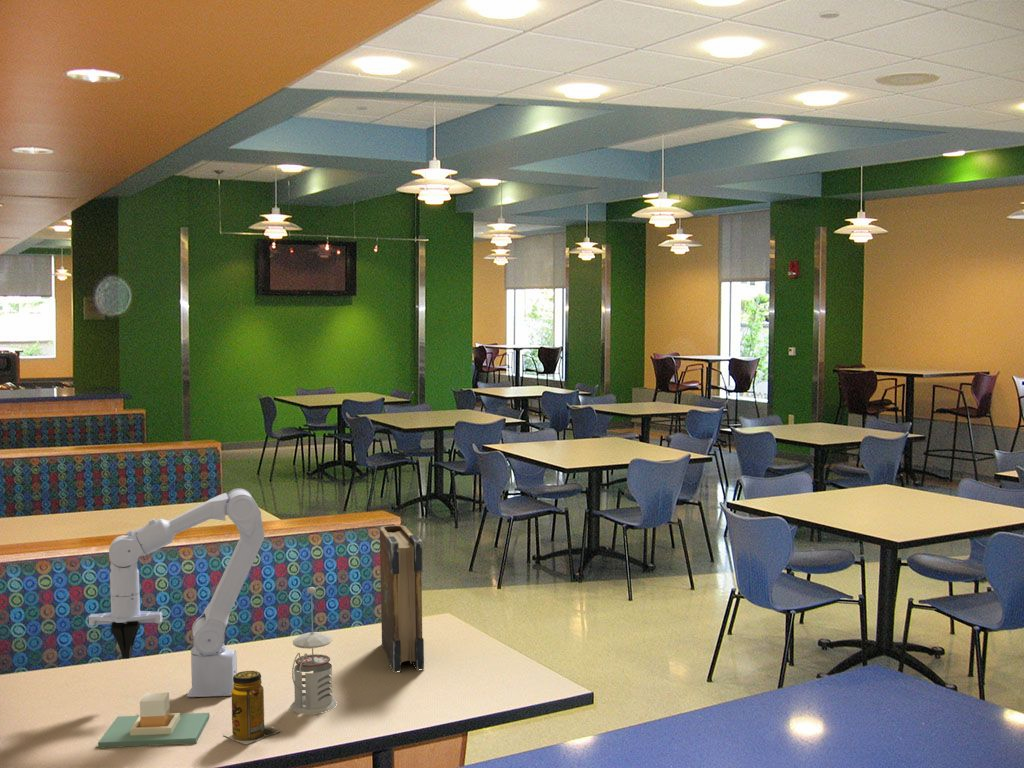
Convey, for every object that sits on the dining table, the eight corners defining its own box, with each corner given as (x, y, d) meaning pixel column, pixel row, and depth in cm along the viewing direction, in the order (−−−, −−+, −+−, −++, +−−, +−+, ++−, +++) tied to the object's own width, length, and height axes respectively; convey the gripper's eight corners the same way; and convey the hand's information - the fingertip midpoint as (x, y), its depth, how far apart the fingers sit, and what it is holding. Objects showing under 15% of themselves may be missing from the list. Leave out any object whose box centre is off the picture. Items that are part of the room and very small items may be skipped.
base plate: (209, 717, 208) (209, 706, 208) (196, 743, 195) (195, 731, 195) (117, 721, 206) (117, 710, 206) (98, 747, 194) (97, 736, 193)
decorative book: (424, 670, 236) (422, 540, 234) (393, 673, 234) (391, 542, 232) (406, 640, 258) (405, 521, 257) (378, 642, 256) (376, 523, 255)
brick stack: (169, 722, 203) (169, 692, 203) (164, 731, 199) (163, 700, 198) (146, 723, 203) (145, 693, 202) (140, 732, 198) (139, 701, 198)
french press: (346, 699, 217) (344, 583, 216) (318, 719, 206) (316, 597, 205) (305, 694, 221) (303, 579, 219) (275, 714, 210) (273, 593, 208)
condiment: (223, 736, 199) (221, 675, 198) (259, 722, 205) (258, 663, 205) (245, 745, 194) (244, 683, 193) (282, 732, 201) (281, 671, 200)
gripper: (83, 599, 212) (85, 664, 213) (155, 597, 213) (157, 661, 214) (93, 591, 219) (95, 653, 220) (164, 588, 220) (165, 651, 221)
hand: (126, 657), depth 217 cm, fingers closed
